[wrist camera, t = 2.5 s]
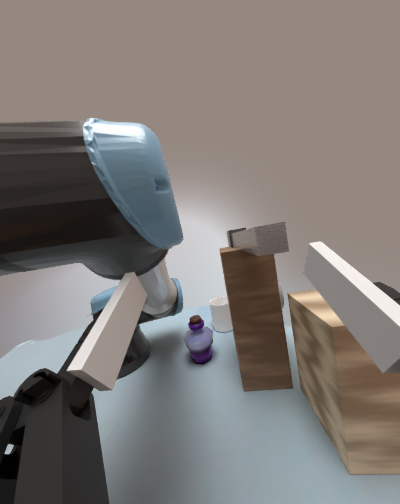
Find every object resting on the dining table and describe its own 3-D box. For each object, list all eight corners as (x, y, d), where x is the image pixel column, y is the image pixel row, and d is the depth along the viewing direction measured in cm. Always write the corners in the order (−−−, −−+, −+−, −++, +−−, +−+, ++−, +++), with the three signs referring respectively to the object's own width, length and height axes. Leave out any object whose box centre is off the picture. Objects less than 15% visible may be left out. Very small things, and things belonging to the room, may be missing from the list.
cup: (219, 319, 65) (215, 295, 65) (248, 323, 59) (244, 296, 58) (210, 331, 58) (205, 304, 57) (242, 336, 52) (237, 306, 51)
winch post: (235, 346, 48) (219, 248, 46) (281, 342, 46) (266, 240, 44) (243, 391, 34) (220, 252, 32) (309, 387, 32) (289, 241, 30)
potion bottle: (222, 352, 46) (215, 312, 45) (205, 374, 40) (196, 328, 39) (200, 343, 52) (193, 308, 51) (181, 362, 45) (173, 322, 44)
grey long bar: (292, 250, 19) (287, 213, 18) (255, 256, 19) (249, 220, 19) (244, 244, 45) (242, 228, 44) (229, 247, 45) (226, 231, 45)
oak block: (300, 387, 32) (287, 293, 31) (348, 384, 31) (336, 286, 30) (350, 474, 20) (331, 327, 19) (429, 473, 19) (416, 318, 18)
